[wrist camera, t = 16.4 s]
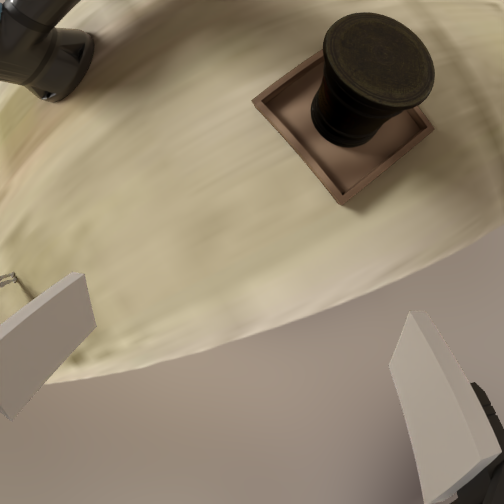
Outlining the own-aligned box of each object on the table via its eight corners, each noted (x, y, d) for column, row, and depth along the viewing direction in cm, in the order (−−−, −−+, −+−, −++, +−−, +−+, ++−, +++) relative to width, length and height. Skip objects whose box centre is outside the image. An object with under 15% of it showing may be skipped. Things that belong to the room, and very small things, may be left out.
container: (365, 78, 30) (409, 6, 13) (387, 141, 32) (456, 107, 14) (301, 90, 32) (301, 13, 14) (321, 154, 33) (344, 120, 16)
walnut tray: (255, 107, 34) (251, 100, 31) (345, 42, 30) (348, 32, 27) (338, 204, 35) (341, 205, 32) (425, 132, 31) (434, 129, 28)
